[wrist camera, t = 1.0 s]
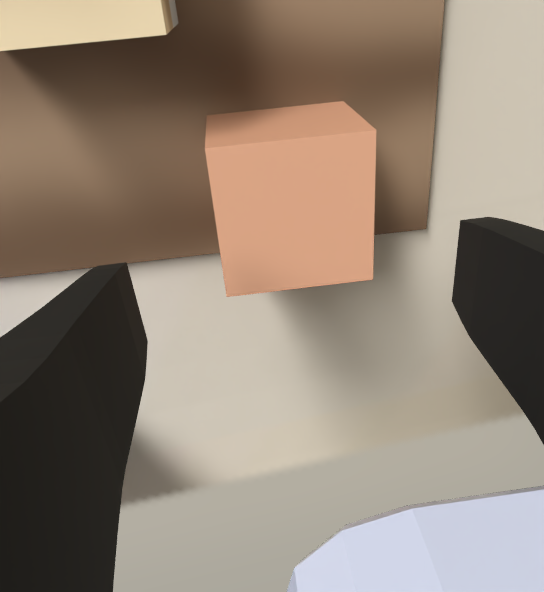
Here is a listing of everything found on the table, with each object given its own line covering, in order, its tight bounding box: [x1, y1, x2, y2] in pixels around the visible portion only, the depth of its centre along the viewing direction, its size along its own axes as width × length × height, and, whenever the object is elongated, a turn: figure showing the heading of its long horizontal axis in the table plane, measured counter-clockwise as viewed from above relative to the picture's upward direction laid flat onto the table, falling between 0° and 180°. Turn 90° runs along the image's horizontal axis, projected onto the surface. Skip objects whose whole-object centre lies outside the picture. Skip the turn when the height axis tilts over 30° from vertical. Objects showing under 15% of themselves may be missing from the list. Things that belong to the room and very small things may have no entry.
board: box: [0, 0, 445, 278], centre depth 18 cm, size 15×20×1 cm
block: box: [205, 101, 376, 297], centre depth 18 cm, size 5×5×4 cm
